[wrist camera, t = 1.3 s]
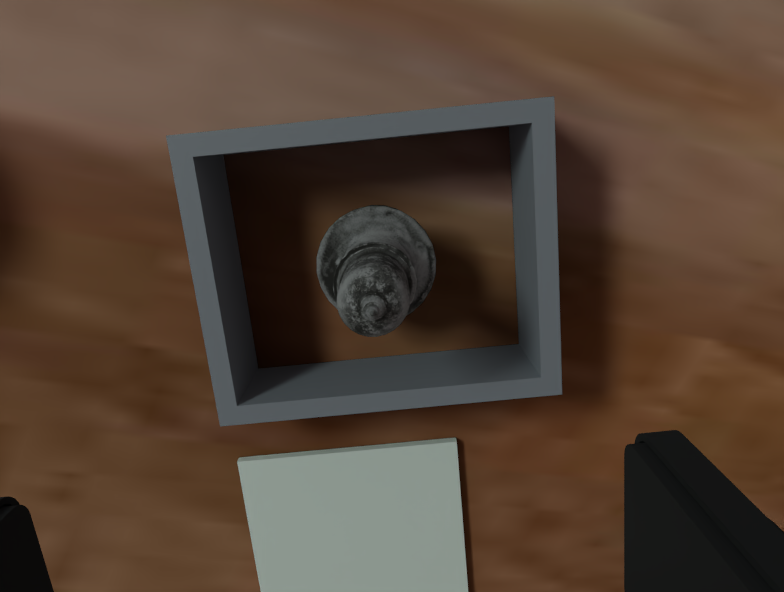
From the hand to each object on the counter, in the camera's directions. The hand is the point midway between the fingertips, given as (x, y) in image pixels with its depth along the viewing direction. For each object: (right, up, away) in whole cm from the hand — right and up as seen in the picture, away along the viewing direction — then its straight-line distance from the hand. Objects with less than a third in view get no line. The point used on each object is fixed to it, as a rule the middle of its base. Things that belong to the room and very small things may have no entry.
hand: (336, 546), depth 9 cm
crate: (0, +6, +23) cm, 24 cm away
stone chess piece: (0, +6, +23) cm, 24 cm away
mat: (-1, -11, +28) cm, 30 cm away
